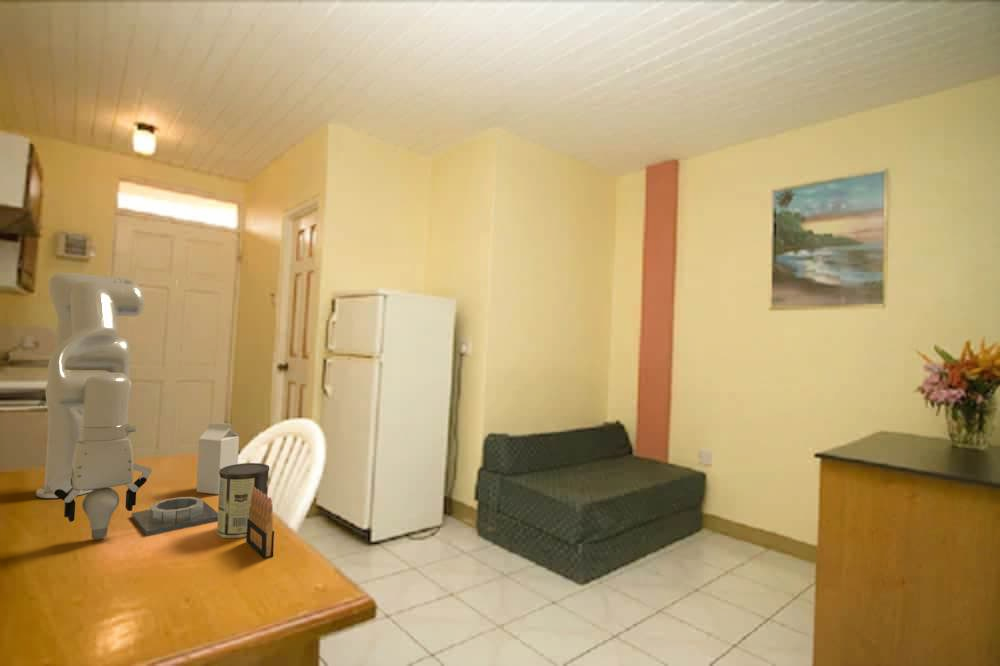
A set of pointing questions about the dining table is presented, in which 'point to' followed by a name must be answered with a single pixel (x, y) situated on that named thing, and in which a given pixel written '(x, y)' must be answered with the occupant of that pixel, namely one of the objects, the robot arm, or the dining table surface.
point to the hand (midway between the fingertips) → (100, 514)
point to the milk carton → (215, 455)
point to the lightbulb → (100, 510)
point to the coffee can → (238, 496)
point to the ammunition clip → (260, 524)
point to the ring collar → (174, 515)
